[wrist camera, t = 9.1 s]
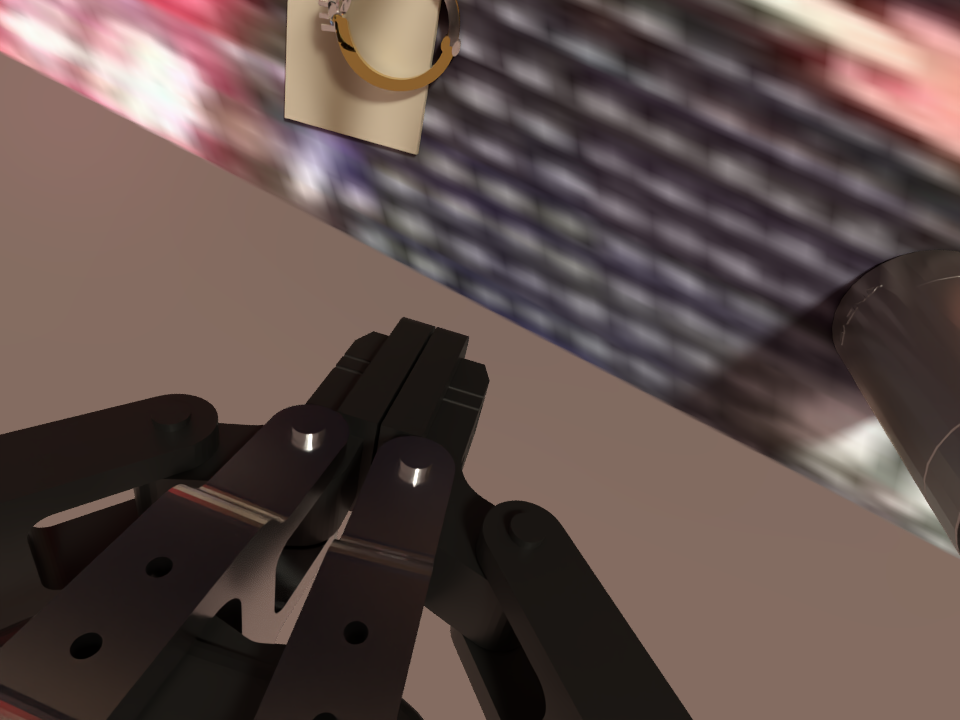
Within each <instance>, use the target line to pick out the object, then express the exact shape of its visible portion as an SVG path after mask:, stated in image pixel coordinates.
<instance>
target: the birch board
mask: <svg viewBox="0 0 960 720" xmlns="http://www.w3.org/2000/svg"><path fill="white" fill-rule="evenodd" d="M318 1H319V0H288V10H287V48H286V85H285V118H288V119H292V120H295V121H299V122H302V123H306V124H309V125H313V126H317V127H320V128H324V129H327V130H331V131H334V132H338V133H341V134H345V135H348V136H352V137H355V138H359V139H363V140H366V141H370V142H373V143H377V144H380V145H384V146H387V147H391V148H394V149H398V150H401V151H405V152H409V153H412V154H416V155H417V154H418V151H419V145H420V138H421V132H422V125H423V119H424V112H425V105H426V99H427V92H428V86H429V84H428V85H426V86H424V87H422V88H419V89H415V90H411V91H390V90H385V89H382V88H379V87H376V86H374V85H372V84H370V83H368V82H367V81H365V80H364V79H362V78H361V77H360V76H359V75H357V74H356V73H355V72H354V70H353V69H352V68H351V67H350V65H349V64H348V63H347V61H346V59H345V58H344V56H343V54H342V51H341V49H340V46H339V43H338V40H337V36H336V32H331V31H322V29H321V24H329V25H331V24H330V20H329V19H323V18H319V12H322V13H327V14H328V7H323V6H319V5H318ZM441 1H442V0H353V1H352V5H351V7H350V10H349V13H348V15H347V17H346V19H347V20H348V21H349V26H350V31H351V35H352V38H353V41H354V43H355V46H356V48H357V50H358V52H359V53H360V55H361V56H362V58H363V59H364V60H365V61H366V62H367V63H368V64H369V65H370V66H371V67H373V68H374V69H376V70H377V71H379V72H381V73H383V74H385V75H388V76H392V77H398V78H407V77H413V76H416V75H419V74H421V73H423V72H425V71H427V70H428V69H430V68H431V66H432V60H433V53H434V46H435V40H436V33H437V27H438V20H439V14H440V7H441Z"/></svg>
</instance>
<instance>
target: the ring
mask: <svg viewBox="0 0 960 720" xmlns="http://www.w3.org/2000/svg"><path fill="white" fill-rule="evenodd" d="M352 1H353V0H319V1H318V5H319V6H323V7H328V14H327V13H322V12H319V18H323V19H329V20H330V24H331V25H329V24H321V29H322V31H331V32H336V36H337V40H338V43H339V46H340V49H341V51H342V54H343V56H344V58H345V59H346V61H347V63H348V64H349V65H350V67H351V68H352V69H353V70H354V72H355V73H356V74H357V75H359V76H360V77H361V78H362V79H364V80H365V81H367V82H368V83H370V84H372V85H374V86H376V87H379V88H382V89H385V90H390V91H411V90H415V89H419V88H422V87H424V86H426V85H428V84H430V83H431V82H433V81H434V80H435V79H437V78H438V77H439V76H440V75H441V74H442V73H443V72H444V70H445V69H446V68H447V66H448V65H449V63H450V61H451V59H452V57H453V56H456V55H457V54H458V52H459V50H460V46H461V41H460V39H458V38H459V32H460V13H459V7H458V2H457V0H444V1H445V3H446V7H447V11H448V17H449V31H448V34H446V35H445V36H444V38H443V40H442V43H441V50H442V51H443V52H442V54H441V56H440V57H439V59H438V60H437V62H436V63H435V64H434V65H433V66H432V67H431V68H430V69H428V70H427V71H425V72H423V73H421V74H419V75H416V76H413V77H407V78H398V77H392V76H388V75H385V74H383V73H381V72H379V71H377V70H376V69H374V68H373V67H371V66H370V65H369V64H368V63H367V62H366V61H365V60H364V59H363V58H362V56H361V55H360V53H359V52H358V50H357V48H356V46H355V43H354V41H353V38H352V35H351V31H350V26H349V21H348V20H347V19H346V17H347V15H348V13H349V10H350V7H351V5H352Z"/></svg>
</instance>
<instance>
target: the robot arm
mask: <svg viewBox="0 0 960 720" xmlns="http://www.w3.org/2000/svg"><path fill="white" fill-rule="evenodd" d="M832 339H833V342H834V345H835V348H836V351H837V352H838V354H839V356H840V357H841V359H842V361H843V362H844V364H845V366H846V367H847V369H848V371H849V372H850V374H851V375H852V377H853V379H854V381H855V383H856V384H857V386H858V388H859V390H860V391H861V393H862V394H863V396H864V398H865V399H866V401H867V403H868V404H869V406H870V408H871V409H872V411H873V413H874V414H875V416H876V418H877V419H878V421H879V423H880V424H881V426H882V428H883V429H884V431H885V433H886V434H887V436H888V438H889V439H890V441H891V443H892V444H893V446H894V448H895V449H896V451H897V453H898V454H899V456H900V458H901V459H902V461H903V463H904V464H905V466H906V468H907V469H908V471H909V473H910V474H911V476H912V478H913V479H914V481H915V483H916V484H917V486H918V487H919V489H920V491H921V492H922V494H923V496H924V497H925V499H926V501H927V502H928V504H929V506H930V507H931V509H932V510H933V512H934V513H935V515H936V517H937V518H938V520H939V522H940V523H941V525H942V527H943V528H944V530H945V532H946V533H947V535H948V537H949V538H950V540H951V542H952V543H953V545H954V547H955V548H956V550H957V552H958V553H959V555H960V252H958V251H950V250H927V251H918V252H914V253H910V254H906V255H902V256H899V257H896V258H894V259H892V260H889V261H887V262H885V263H882V264H881V265H879V266H877V267H876V268H874V269H873V270H871V271H869V272H868V273H866V274H865V275H864V276H863V277H861V278H860V279H859V280H858V281H857V282H856V283H855V284H854V285H852V287H851V288H850V289H849V290H848V292H847V293H846V294H845V296H844V297H843V298H842V300H841V302H840V304H839V306H838V308H837V310H836V312H835V315H834V319H833V324H832ZM468 341H469V336H466V335H462V334H459V333H456V332H453V331H449V330H446V329H442V328H439V327H437V328H436V329H435V326H432V325H429V324H425V323H422V322H419V321H415V320H412V319H408V318H405V317H403V318H402V319H401V320H400V321H399V323H398V324H397V326H396V327H395V328H394V330H393V331H392V333H391V334H390V336H387V335H384V334H380V333H377V332H374V331H373V332H371V333H369V334H368V335H365V336H363V337H361V338H359V339H357V340H355V342H354V343H353V344H352V345H351V346H350V348H349V349H348V350H347V352H346V353H345V355H344V357H342V358H341V359H340V361H339V362H338V363H337V364H336V367H335V368H334V369H332V371H331V372H330V373H329V375H328V376H327V377H326V378H325V380H324V381H323V382H322V383H321V385H320V386H319V387H318V389H317V390H316V391H315V392H314V394H313V395H312V396H311V398H310V399H309V400H308V401H307V403H306V404H304V405H296V406H292V407H288V408H286V409H283V410H281V411H279V412H278V413H276V414H275V415H274V416H273V417H272V418H271V419H270V420H269V421H268V422H267V423H266V424H265V425H239V424H224V423H218V415H217V412H216V409H215V408H214V407H213V405H212V404H210V403H209V402H207V401H206V400H204V399H202V398H199V397H197V396H192V395H186V394H168V395H162V396H158V397H153V398H149V399H145V400H141V401H137V402H132V403H129V404H125V405H120V406H116V407H112V408H108V409H104V410H100V411H96V412H91V413H87V414H84V415H79V416H75V417H71V418H67V419H63V420H59V421H54V422H50V423H46V424H42V425H38V426H34V427H30V428H26V429H22V430H18V431H14V432H9V433H6V434H1V435H0V720H423V718H422V717H421V716H420V714H419V713H418V712H417V711H416V710H415V709H414V708H413V707H412V706H410V705H409V704H408V703H407V702H406V701H405V700H404V699H403V698H402V695H403V691H404V687H405V682H406V678H407V674H408V669H409V665H410V662H411V657H412V653H413V649H414V645H415V641H416V636H417V632H418V628H419V624H420V619H421V616H422V611H423V607H424V606H425V607H426V608H428V609H429V610H430V611H432V612H433V613H434V614H436V615H437V616H438V617H440V618H441V619H442V620H444V621H445V622H447V623H448V624H449V625H451V630H450V631H451V637H452V640H453V643H454V646H455V648H456V650H457V653H458V655H459V657H460V660H461V662H462V664H463V666H464V669H465V671H466V673H467V675H468V678H469V680H470V683H471V685H472V687H473V690H474V692H475V694H476V696H477V699H478V701H479V703H480V706H481V708H482V710H483V713H484V715H485V717H486V720H693V719H692V718H691V716H690V715H689V713H688V712H687V710H686V709H685V707H684V706H683V704H682V703H681V701H680V700H679V698H678V697H677V695H676V694H675V693H674V691H673V690H672V688H671V687H670V685H669V684H668V682H667V681H666V679H665V678H664V676H663V675H662V673H661V672H660V670H659V669H658V667H657V666H656V664H655V663H654V661H653V660H652V659H651V657H650V655H649V654H648V652H647V651H646V650H645V648H644V647H643V645H642V644H641V642H640V641H639V639H638V638H637V636H636V635H635V633H634V632H633V630H632V629H631V627H630V626H629V624H628V623H627V621H626V620H625V618H624V617H623V615H622V614H621V613H620V611H619V609H618V608H617V607H616V605H615V604H614V602H613V601H612V599H611V598H610V596H609V595H608V593H607V592H606V590H605V589H604V587H603V586H602V584H601V583H600V581H599V580H598V578H597V577H596V575H595V574H594V572H593V571H592V570H591V568H590V566H589V565H588V564H587V562H586V561H585V559H584V558H583V556H582V555H581V553H580V552H579V550H578V549H577V547H576V546H575V544H574V543H573V541H572V540H571V538H570V537H569V536H568V534H567V532H566V531H565V529H564V528H563V527H562V525H561V524H560V522H559V521H558V520H557V519H556V518H555V517H554V516H553V515H552V514H551V513H550V512H548V511H547V510H545V509H544V508H542V507H540V506H538V505H535V504H533V503H529V502H525V501H507V502H503V503H500V504H498V505H496V506H495V505H493V504H492V503H490V502H488V501H487V500H485V499H483V498H482V497H481V496H480V495H478V494H477V493H476V492H475V491H474V490H473V489H472V488H471V487H470V486H469V484H468V483H467V481H466V480H465V478H464V475H463V472H462V469H463V466H464V463H465V461H466V458H467V455H468V452H469V449H470V446H471V443H472V440H473V437H474V434H475V431H476V427H477V424H478V420H479V417H480V413H481V409H482V406H483V402H484V399H485V395H486V391H487V388H488V384H489V378H488V374H487V371H486V367H485V365H484V364H480V363H477V362H474V361H470V360H467V359H464V358H465V354H466V350H467V346H468ZM132 488H134V493H135V499H132V500H129V501H126V502H123V503H120V504H117V505H114V506H111V507H108V508H105V509H102V510H99V511H96V512H93V513H90V514H87V515H84V516H81V517H78V518H75V519H72V520H69V521H66V522H63V523H60V524H57V525H54V526H51V527H45V528H36V527H33V526H34V525H35V524H36V523H37V522H39V521H40V520H42V519H44V518H46V517H48V516H50V515H52V514H56V513H58V512H62V511H65V510H68V509H71V508H74V507H77V506H80V505H83V504H86V503H89V502H93V501H96V500H99V499H102V498H105V497H108V496H111V495H114V494H117V493H120V492H123V491H126V490H129V489H132ZM348 511H352V513H351V515H350V517H349V520H348V522H347V524H346V527H345V529H344V532H343V534H342V536H341V538H340V540H337V532H338V529H339V527H340V526H341V524H342V522H343V520H344V518H345V516H346V514H347V512H348ZM318 569H319V570H318ZM317 571H318V573H317ZM316 573H317V575H316V578H315V580H314V582H313V584H312V587H311V589H310V592H309V594H308V596H307V598H306V600H305V603H304V605H303V607H302V610H301V612H300V614H299V617H298V619H297V621H296V623H295V626H294V628H293V631H292V633H291V635H290V637H289V640H288V642H287V644H286V645H285V644H275V641H276V639H277V636H278V634H279V632H280V630H281V628H282V626H283V624H284V623H285V621H286V619H287V618H288V616H289V615H290V613H291V612H292V610H293V609H294V607H295V605H296V604H297V602H298V601H299V599H300V598H301V596H302V594H303V593H304V591H305V590H306V588H307V587H308V585H309V584H310V582H311V580H312V579H313V577H314V576H315V574H316Z"/></svg>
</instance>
